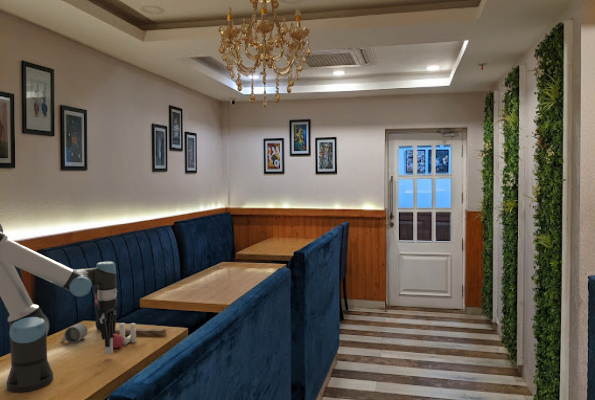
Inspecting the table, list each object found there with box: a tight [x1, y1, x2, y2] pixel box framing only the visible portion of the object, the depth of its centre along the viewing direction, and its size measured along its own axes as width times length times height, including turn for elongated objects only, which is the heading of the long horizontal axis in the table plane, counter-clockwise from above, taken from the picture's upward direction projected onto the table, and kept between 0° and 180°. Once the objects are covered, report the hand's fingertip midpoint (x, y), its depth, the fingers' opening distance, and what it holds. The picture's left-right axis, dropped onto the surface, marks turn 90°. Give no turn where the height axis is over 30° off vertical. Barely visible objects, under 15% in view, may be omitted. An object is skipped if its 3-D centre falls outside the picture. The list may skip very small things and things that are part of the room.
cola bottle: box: [93, 286, 101, 331], centre depth 235 cm, size 8×8×30 cm
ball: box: [112, 334, 123, 349], centre depth 209 cm, size 6×6×6 cm
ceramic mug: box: [61, 323, 88, 344], centre depth 220 cm, size 11×8×8 cm
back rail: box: [115, 328, 167, 337], centre depth 226 cm, size 24×3×2 cm, turn 87°
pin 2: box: [129, 322, 137, 344], centre depth 216 cm, size 2×2×8 cm
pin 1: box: [118, 322, 126, 340], centre depth 217 cm, size 2×2×8 cm
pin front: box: [122, 335, 131, 346], centre depth 217 cm, size 2×2×8 cm
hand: (109, 353), depth 198 cm, fingers closed
